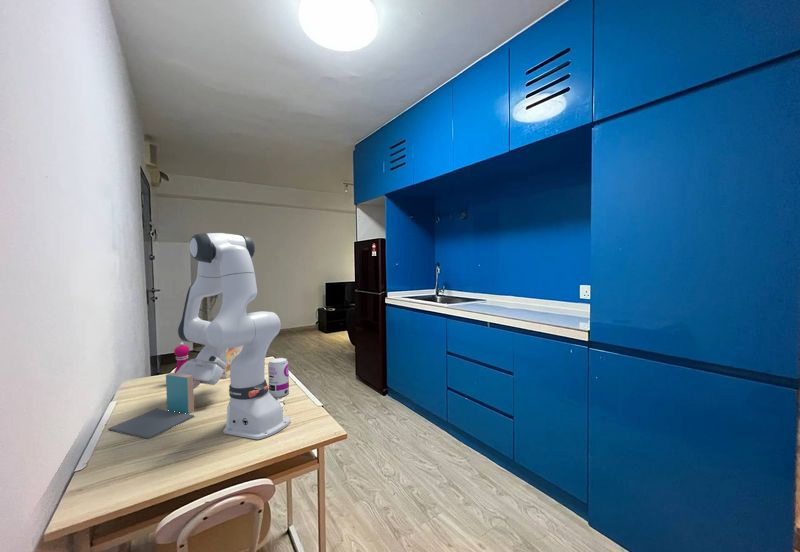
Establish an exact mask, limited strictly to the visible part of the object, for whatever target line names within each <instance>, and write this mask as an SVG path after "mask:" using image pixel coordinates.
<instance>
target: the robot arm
mask: <svg viewBox="0 0 800 552" xmlns="http://www.w3.org/2000/svg"><path fill="white" fill-rule="evenodd" d="M255 248H256V247H255V243H254V240H253V239H252V237H250V236H248V235H244V234H234V233H225V232H213V233H212V232H209V233H207V232H200V233H196V234H194V235H192V237H191V238H190V240H189V252H190V255H191V257H192V258H193V259H194V260H196V261H197V262H198V264H197V273H196V278H195V281H194V283H192V284H191V285H189V288H188V289H187V293H186V297H185V302H184V307H183V312H182V317H181V320H180V322H179V325H178V328H177V335H178V337H179V339H180V341H182V342H186V343H187V342H188V343H195V344H198V345H204V347H202V349H200V351H199V353H198V354H197V356H196V357H195V358H191V359H189V360H187V362H186V363H184V364H183V365H182V366H181V368H180V369H179V370H178V371H177V374H184V375H192V376H193V390H195V389H196V388H198V387H199V385H200V384H204V385H211V386H214V385H216V384H217V383H218V382H219V381H220V379H222V378H221V376H222V374H223V372H224V370H223V369H226V367H227V365H226V364H225V363H224V362H223V361H222V360H221V359H222V357H223V354H224V353H225V352H226V351H227V350H228V349H229V348H235V347H239V346H243V345H244V346H243V349H242V350H241V352H240V353H239V355H237V356H236V357H235V358H234V359H233V360H232V362H231V364H230V377H229V378H230V379H229V381H230V384H229V387H228V392H229V394H228V395H229V397H230V399H229V403H228V405H227V408H226V422H225V423H226V424H225V427H224V428H223V434H225V435H231V436H235V437H242V438H248V439H252V440H253V439H254V440H261V439H265V438H268V437H269V436H273V435H274V434H276V433H278V432H280V431H283V430H284V429H285V428H286V427H288V426H289V425H290V423H291V418H289V416H286V415H284V411H283V407H282V404H281V402H280V400H279V399H278V400H276V398H275V397H273V396H272V395H271V394H270V393H269V388H270V387H269V386H270V385H269V384H268V382H267V380H266V378H265V364H266V361H265V360H266V356H267V353H268V350H269V348H270V345H271V343H272V342H273V340H274V339H275V338H276V337H277V336H278V334H279V333H280V330H281V326H282V325H281V323H282V321H281V320H280V319H281V318H280V317H279V315H278V314H277V313H275V312H274V311H262V310H260V311H255V312H254V311H253V312H247V307H248V305H249V303H250V302H252V301H254V300H255V298H256V297H257V295H258V288H257V287H258V285H257V280H256V273H255V268H254V263H253V261H252V258H253V256H254V255H255ZM220 294H222V302H221V306H220V310H219V312H218V313H217V315H216V316H215V317H214V318H213V320H212V321H209V320H204V319H201V318H200V317H199V312H200V309H201V305H202V304H201V303H202V301H203V299H204V298H208V297H214V296H217V295H220Z"/></svg>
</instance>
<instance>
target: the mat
mask: <svg viewBox="0 0 800 552" xmlns="http://www.w3.org/2000/svg"><path fill="white" fill-rule="evenodd" d="M194 418H195V415H194V414H191V413H189V414H185V413H179V412H174V411H168V410H167V409H162V408H157V407H156V408H154V409H151V410H149V411H146V412H145V413H142V414H140V415H137V416H135V417H132V418H130V419H128V420H125V421H123V422H121V423H117V424H115V425H113V426H111V427H109V428H108V431H112V432H117V433H121V434H123V435H124V434H125V435H128V434H129V436H133V437H137V438H140V439H141V438H142V439H147V440H151V439H152V438H155V437H157V436H159V435H160V434H163V433H164V432H167V431H168V430H171V429H172V427H173V428H175V427H177V426H179V425H181V424H184V423H185V422H187V421H189V420H191V419H194ZM178 424H179V425H178ZM176 425H177V426H176ZM174 426H175V427H174Z"/></svg>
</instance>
